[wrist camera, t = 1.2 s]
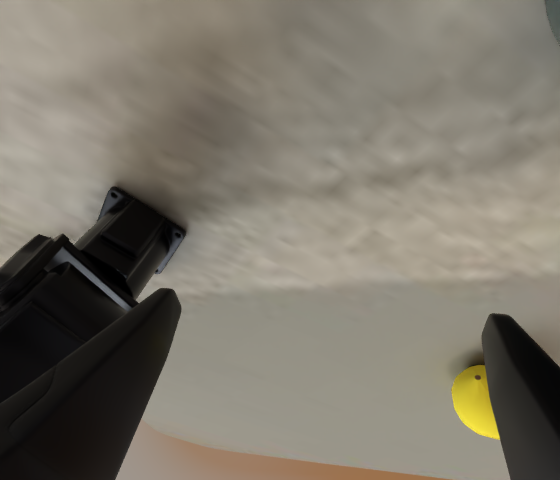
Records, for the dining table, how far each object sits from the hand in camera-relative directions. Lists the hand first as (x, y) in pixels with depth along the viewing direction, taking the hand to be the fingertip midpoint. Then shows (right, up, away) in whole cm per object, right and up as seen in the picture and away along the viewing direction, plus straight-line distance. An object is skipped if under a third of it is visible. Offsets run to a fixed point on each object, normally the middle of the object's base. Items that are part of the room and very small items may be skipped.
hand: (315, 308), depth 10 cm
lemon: (+17, -10, +21) cm, 29 cm away
